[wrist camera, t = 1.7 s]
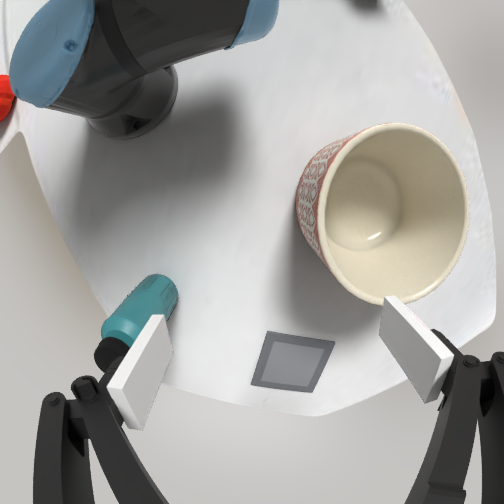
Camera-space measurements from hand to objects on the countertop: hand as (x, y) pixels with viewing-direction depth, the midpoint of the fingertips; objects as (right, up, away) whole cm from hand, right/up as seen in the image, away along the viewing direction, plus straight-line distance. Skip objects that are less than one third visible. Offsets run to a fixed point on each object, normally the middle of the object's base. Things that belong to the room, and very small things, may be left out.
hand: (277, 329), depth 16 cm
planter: (+14, +12, +23) cm, 30 cm away
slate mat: (+5, -15, +31) cm, 35 cm away
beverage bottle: (-16, -1, +27) cm, 31 cm away
